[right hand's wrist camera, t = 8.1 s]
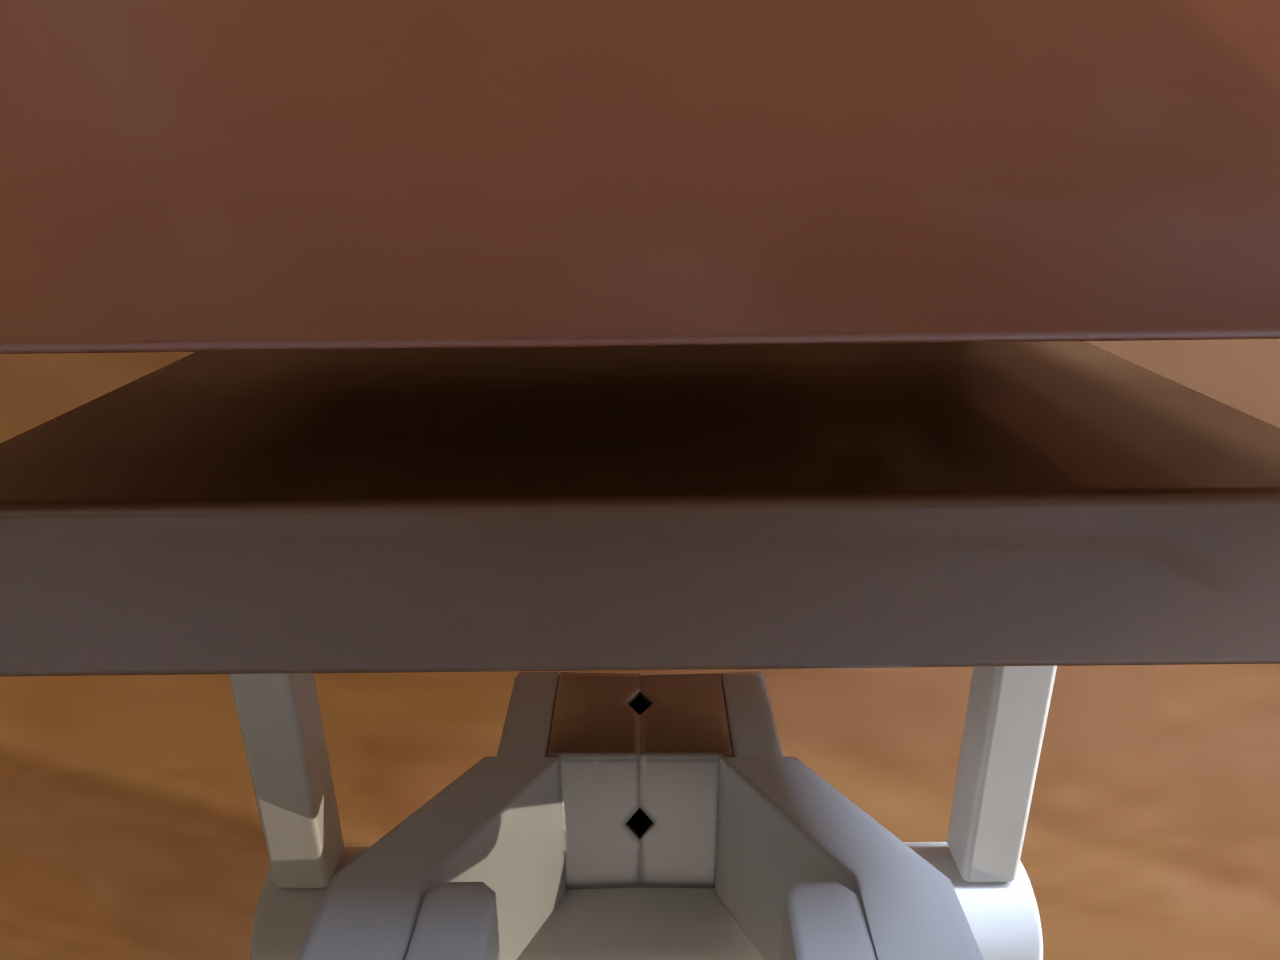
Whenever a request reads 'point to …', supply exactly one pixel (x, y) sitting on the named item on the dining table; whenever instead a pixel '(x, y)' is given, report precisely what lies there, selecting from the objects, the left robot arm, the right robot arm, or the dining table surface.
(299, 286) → the cabinet
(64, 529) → the drawer
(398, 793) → the dining table surface
